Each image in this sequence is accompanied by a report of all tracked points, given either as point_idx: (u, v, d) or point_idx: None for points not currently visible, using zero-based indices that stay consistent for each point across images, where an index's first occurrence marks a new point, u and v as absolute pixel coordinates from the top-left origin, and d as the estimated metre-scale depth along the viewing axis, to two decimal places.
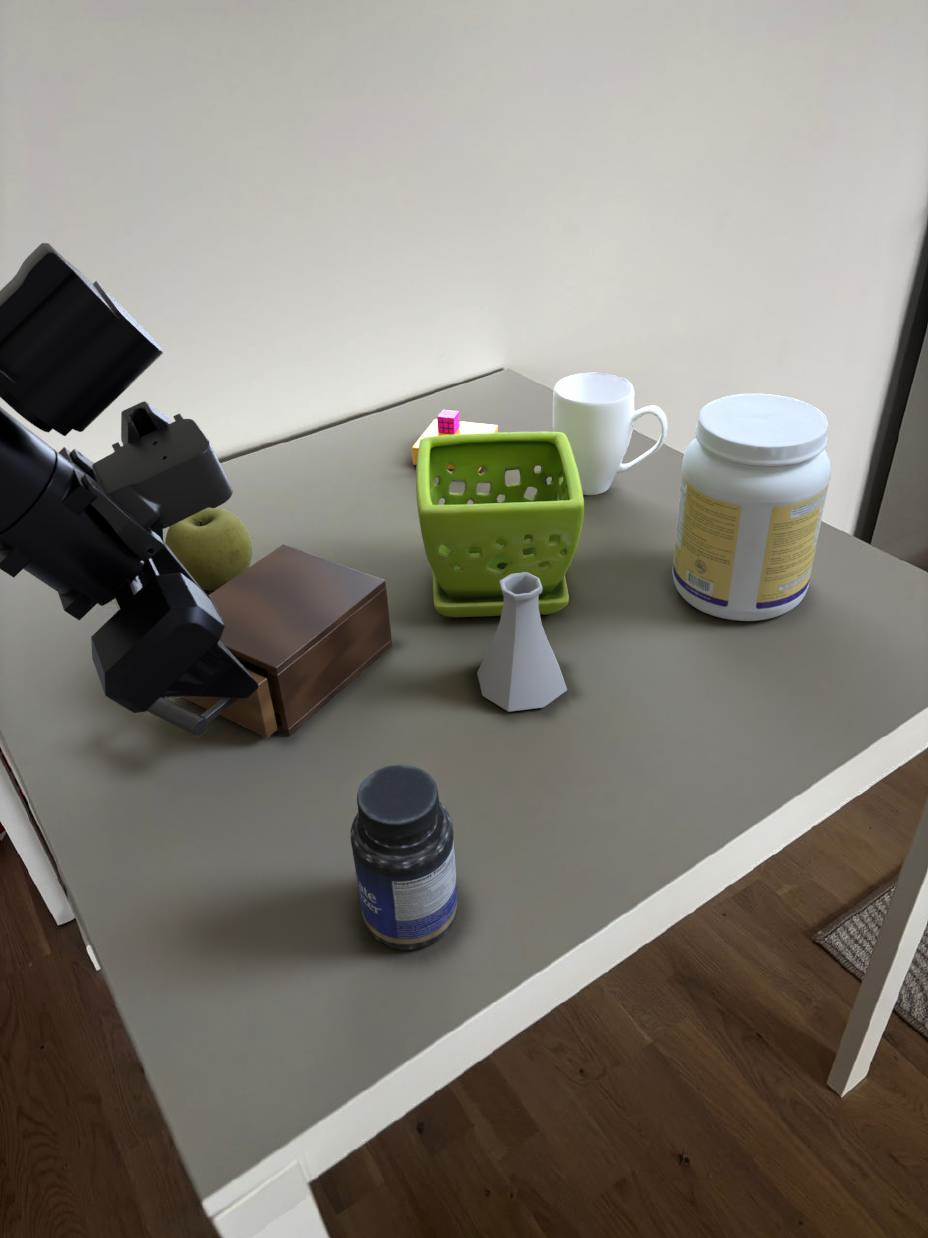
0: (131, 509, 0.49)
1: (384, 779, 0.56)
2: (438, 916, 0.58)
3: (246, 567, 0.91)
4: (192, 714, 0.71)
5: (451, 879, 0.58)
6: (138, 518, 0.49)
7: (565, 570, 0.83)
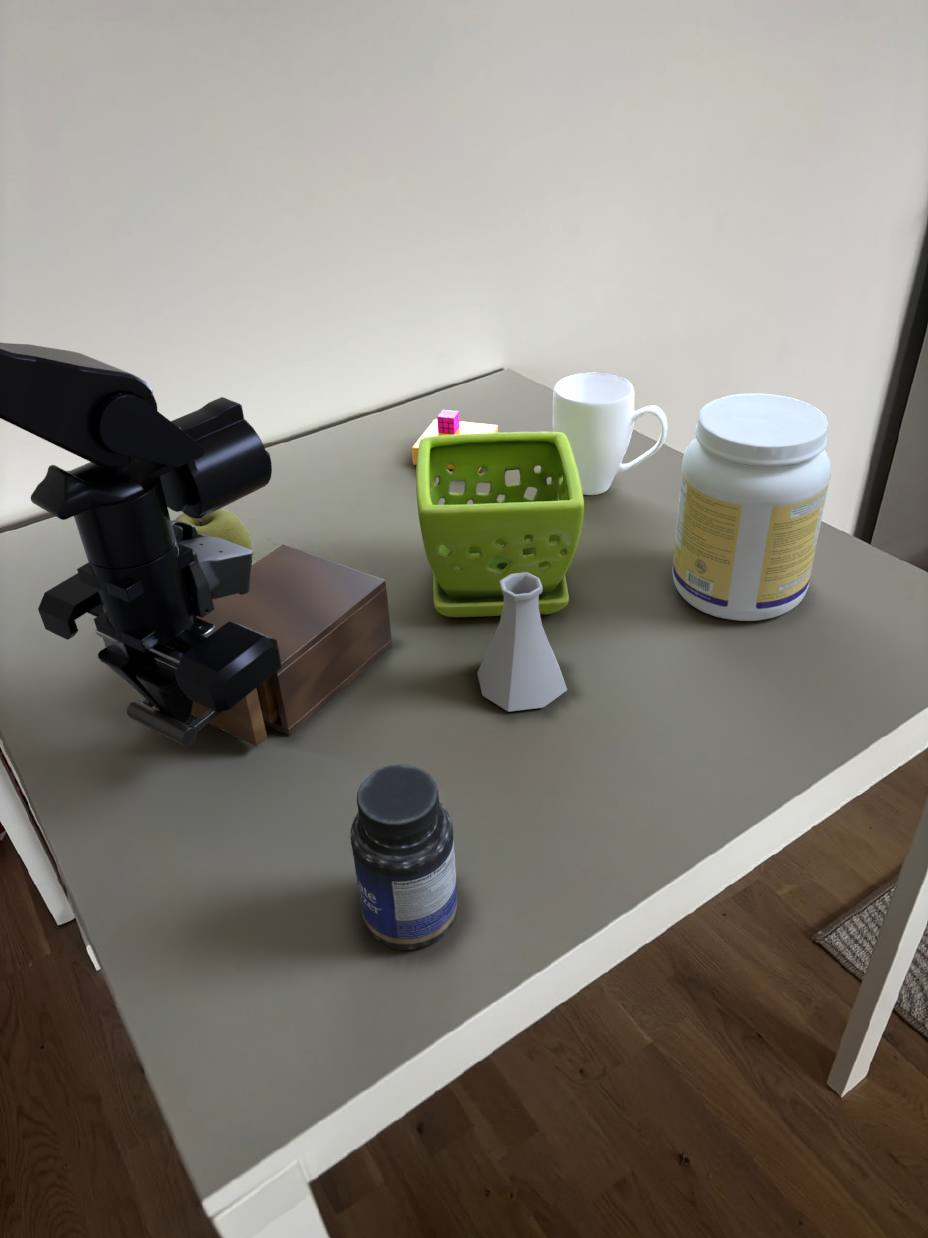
0: (206, 577, 0.67)
1: (384, 779, 0.56)
2: (438, 916, 0.58)
3: None
4: (180, 723, 0.70)
5: (451, 879, 0.58)
6: (209, 584, 0.67)
7: (565, 570, 0.83)
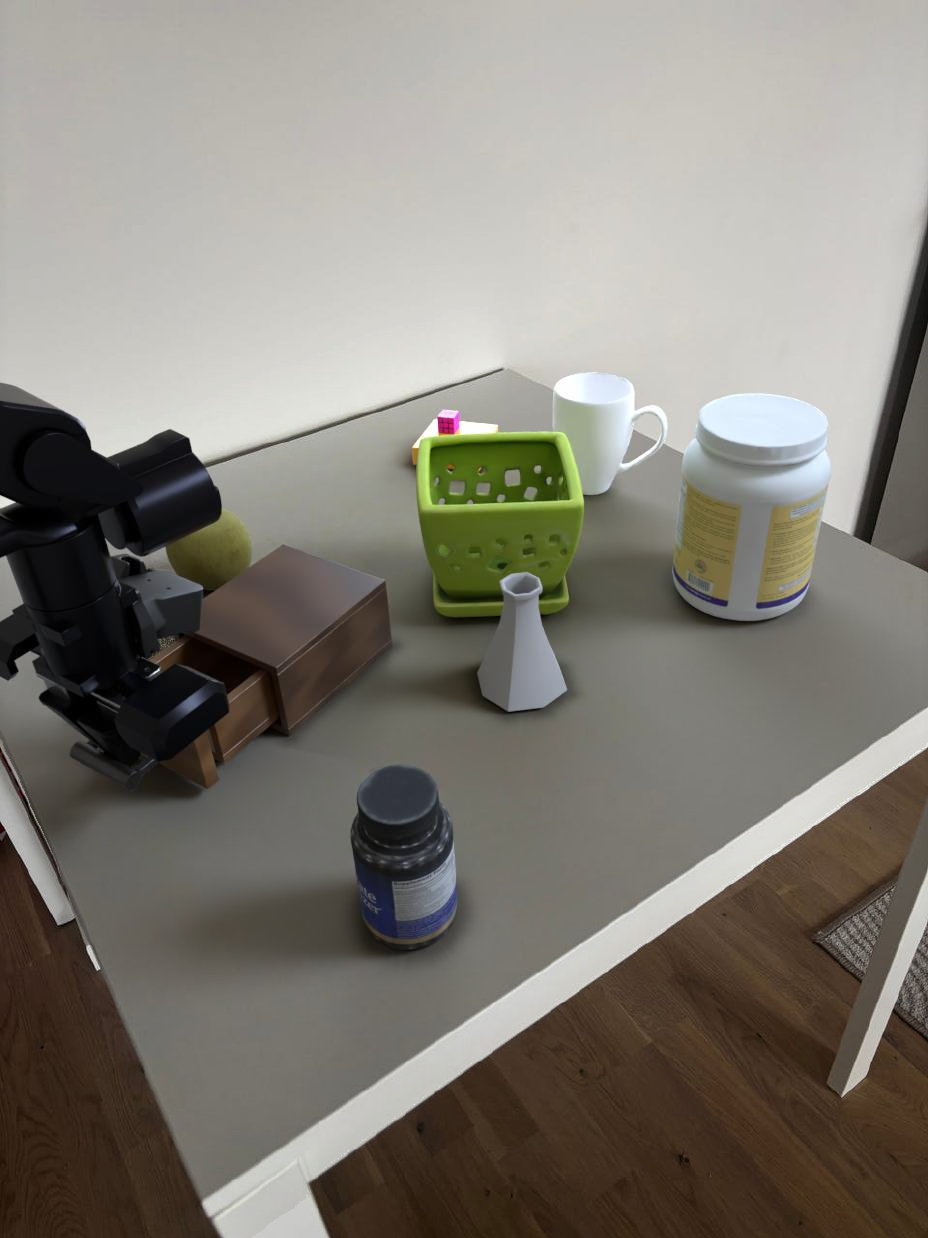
0: (151, 616, 0.64)
1: (384, 779, 0.56)
2: (438, 916, 0.58)
3: (246, 567, 0.91)
4: (125, 767, 0.67)
5: (451, 879, 0.58)
6: (154, 624, 0.64)
7: (565, 570, 0.83)
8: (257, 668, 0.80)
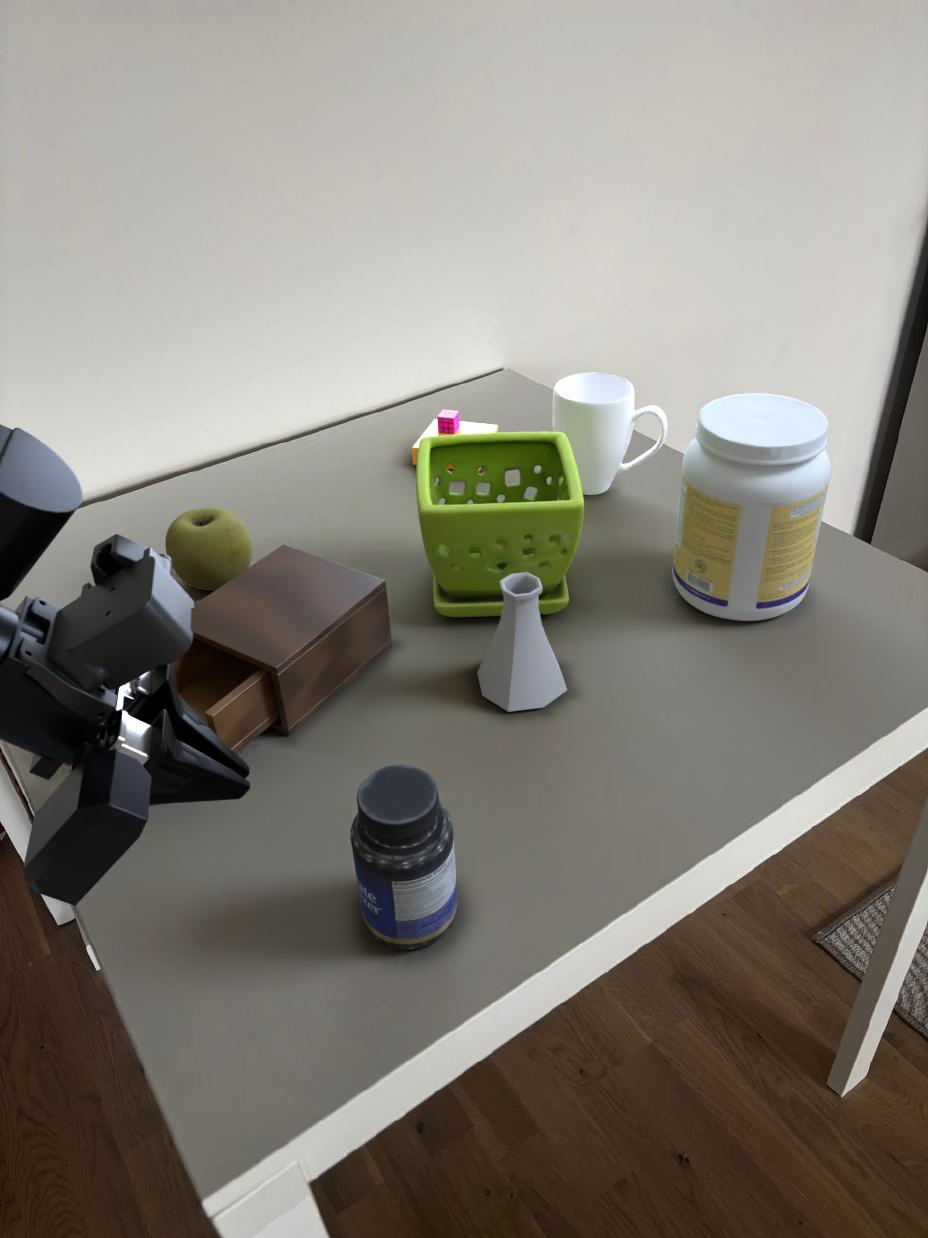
0: (72, 674, 0.44)
1: (384, 779, 0.56)
2: (438, 916, 0.58)
3: (246, 567, 0.91)
4: None
5: (451, 879, 0.58)
6: (80, 684, 0.44)
7: (565, 570, 0.83)
8: (257, 668, 0.80)
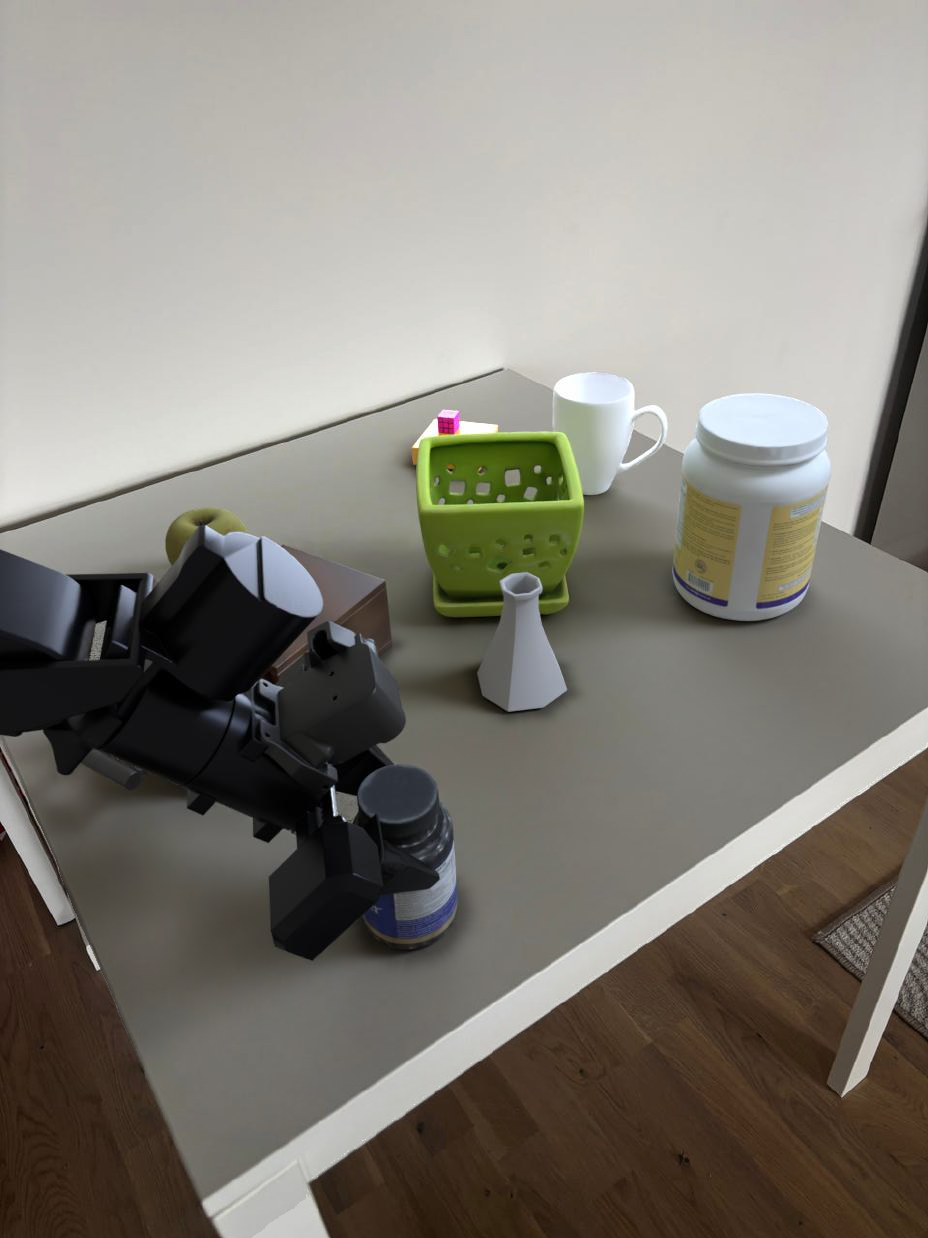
0: (303, 753, 0.49)
1: (384, 779, 0.56)
2: (438, 916, 0.58)
3: None
4: (125, 767, 0.67)
5: (451, 879, 0.58)
6: (310, 761, 0.49)
7: (565, 570, 0.83)
8: None
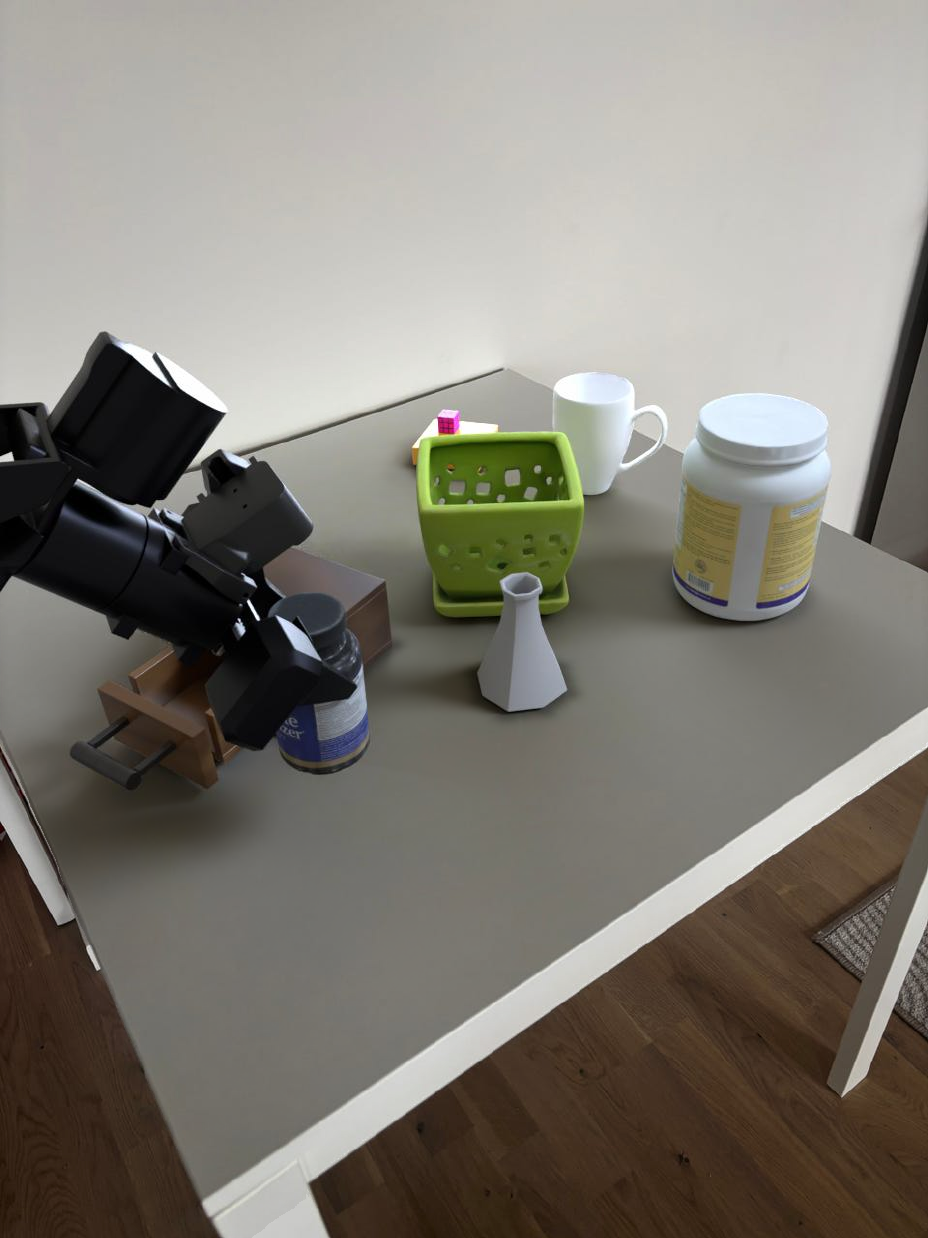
0: (222, 561, 0.51)
1: (290, 605, 0.59)
2: (356, 733, 0.62)
3: None
4: (125, 767, 0.67)
5: (364, 696, 0.62)
6: (230, 568, 0.52)
7: (565, 570, 0.83)
8: None
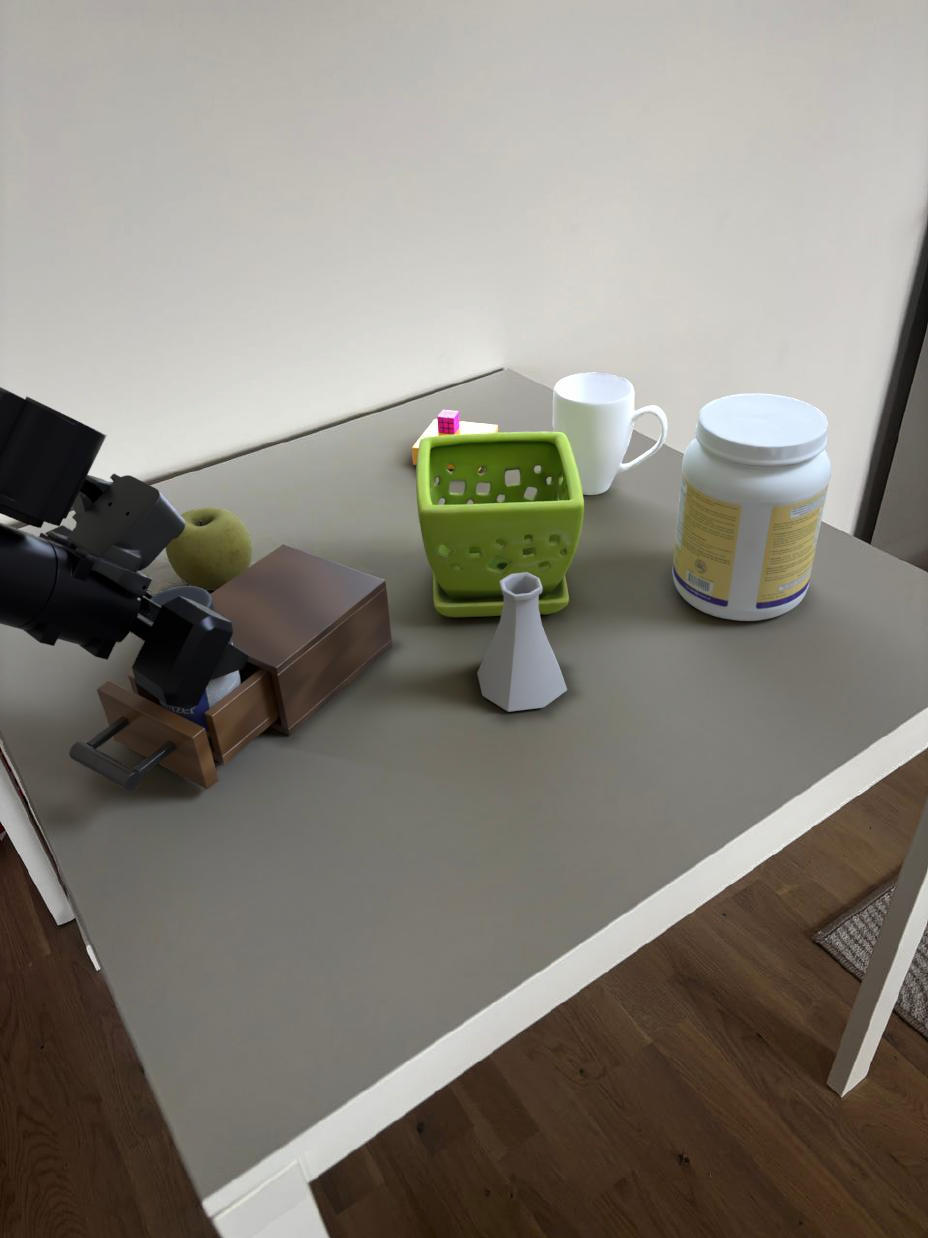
0: (121, 562, 0.61)
1: (161, 601, 0.69)
2: None
3: (246, 567, 0.91)
4: (124, 767, 0.67)
5: None
6: (128, 566, 0.61)
7: (565, 570, 0.83)
8: (257, 668, 0.80)
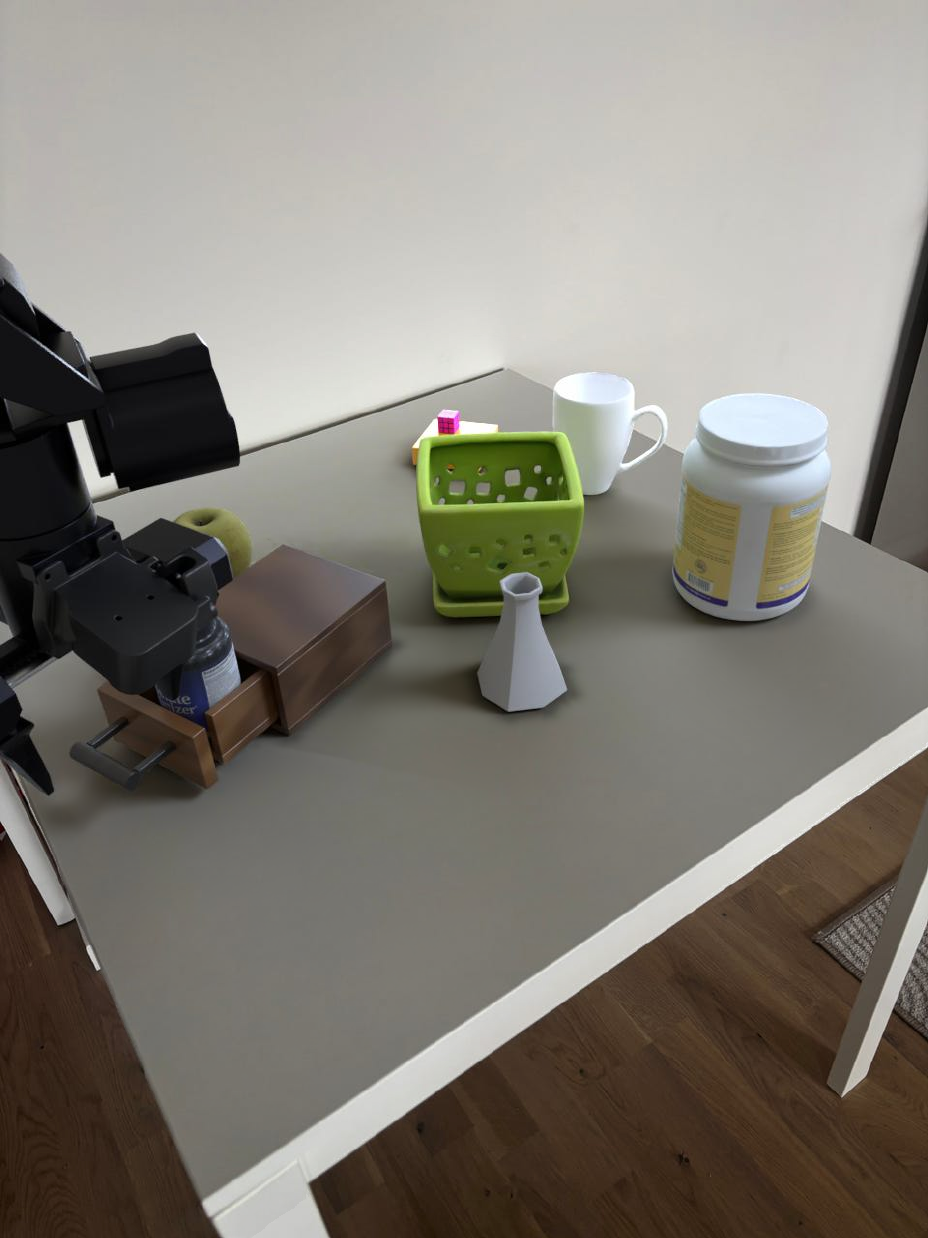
0: (56, 617, 0.47)
1: None
2: None
3: (246, 567, 0.91)
4: (124, 767, 0.67)
5: (237, 666, 0.73)
6: (53, 627, 0.47)
7: (565, 570, 0.83)
8: (257, 668, 0.80)
